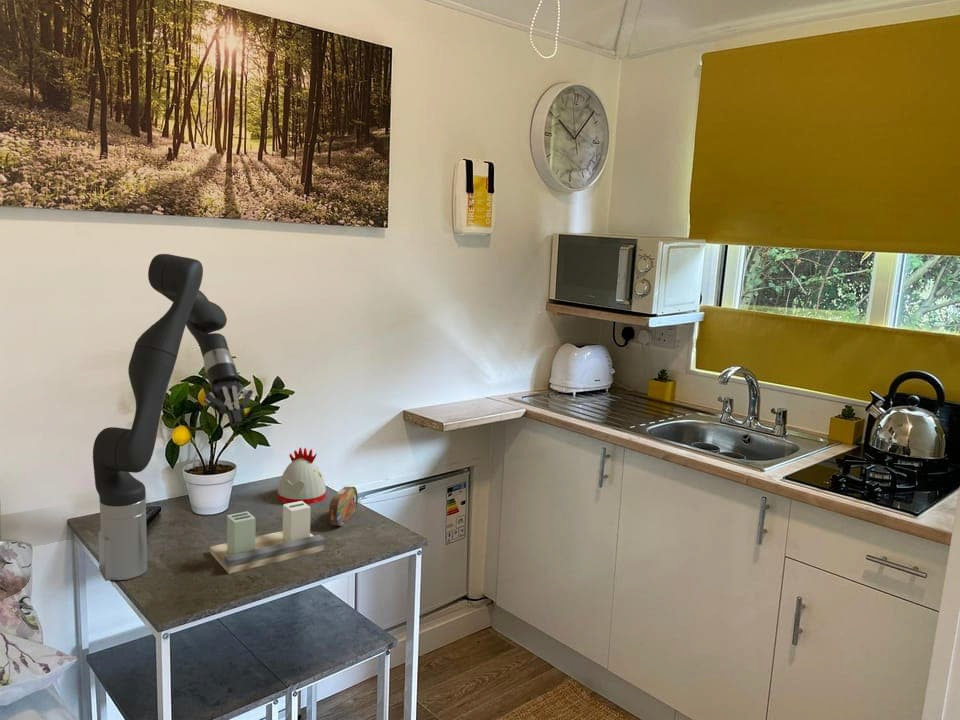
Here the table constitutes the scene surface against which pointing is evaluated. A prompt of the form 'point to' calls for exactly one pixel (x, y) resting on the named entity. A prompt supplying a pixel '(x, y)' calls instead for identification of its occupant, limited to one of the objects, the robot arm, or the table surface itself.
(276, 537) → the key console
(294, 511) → the key one
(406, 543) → the table surface
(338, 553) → the table surface
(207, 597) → the table surface
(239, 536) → the key two
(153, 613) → the table surface
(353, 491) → the tin
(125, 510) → the robot arm
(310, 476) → the kitchen timer
